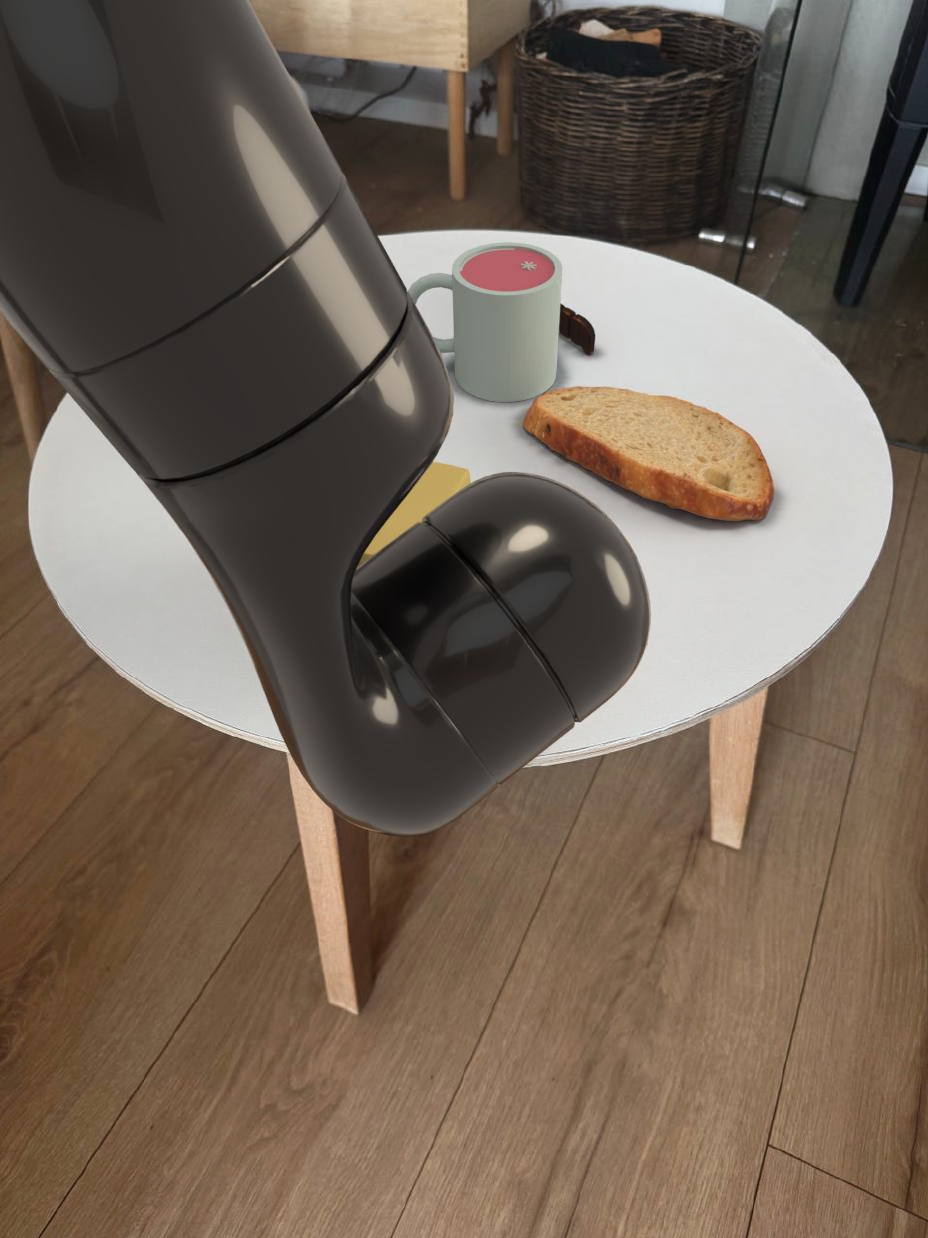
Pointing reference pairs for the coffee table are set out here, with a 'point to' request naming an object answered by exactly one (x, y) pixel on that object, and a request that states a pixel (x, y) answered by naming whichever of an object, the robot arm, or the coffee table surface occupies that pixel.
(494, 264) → the mug
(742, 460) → the slice of bread
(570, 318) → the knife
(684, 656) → the coffee table surface
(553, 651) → the robot arm
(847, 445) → the coffee table surface
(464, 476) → the cheese
